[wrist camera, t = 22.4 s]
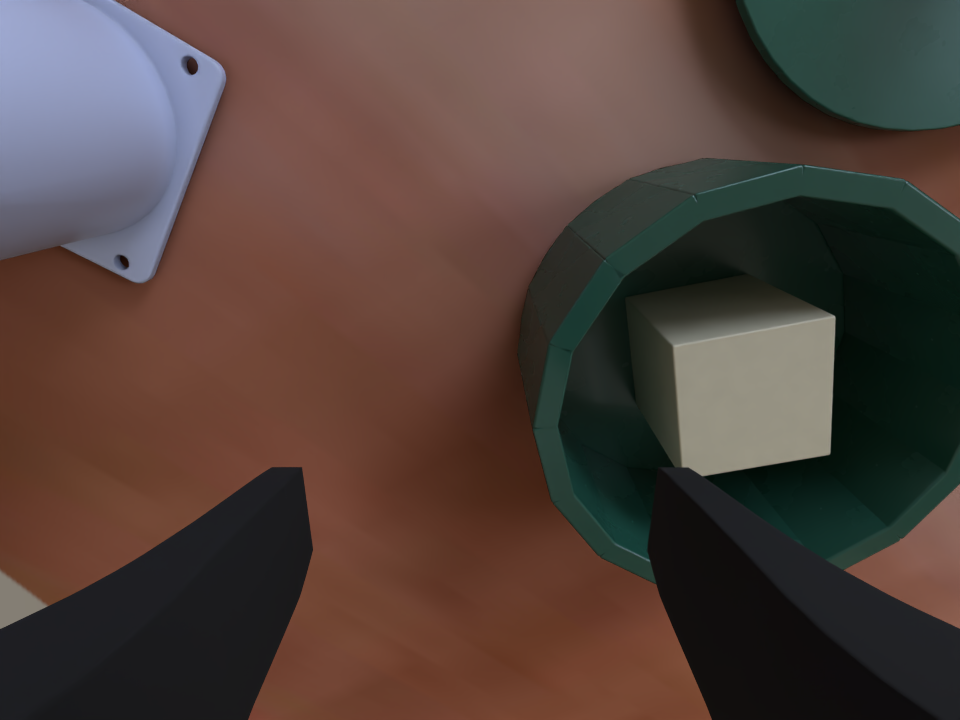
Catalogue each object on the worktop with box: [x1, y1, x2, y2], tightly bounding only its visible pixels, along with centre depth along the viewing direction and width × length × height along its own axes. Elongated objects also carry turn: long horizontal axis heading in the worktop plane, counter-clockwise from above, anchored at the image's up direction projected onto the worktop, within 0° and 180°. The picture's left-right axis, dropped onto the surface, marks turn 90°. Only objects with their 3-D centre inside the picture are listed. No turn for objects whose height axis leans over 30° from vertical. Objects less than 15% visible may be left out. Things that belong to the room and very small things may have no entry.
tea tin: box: [517, 158, 960, 585], centre depth 18 cm, size 13×13×6 cm
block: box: [625, 274, 836, 476], centre depth 18 cm, size 4×4×5 cm
